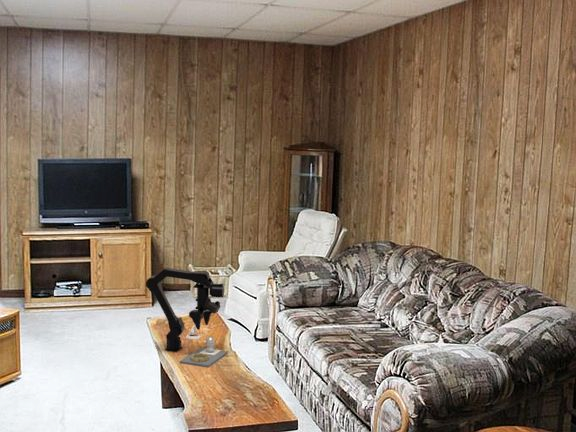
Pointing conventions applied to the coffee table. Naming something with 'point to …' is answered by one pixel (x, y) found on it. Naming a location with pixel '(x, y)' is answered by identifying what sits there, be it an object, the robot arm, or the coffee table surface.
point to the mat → (210, 353)
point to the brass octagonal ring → (195, 359)
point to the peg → (210, 344)
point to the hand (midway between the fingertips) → (202, 327)
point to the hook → (193, 334)
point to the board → (204, 364)
